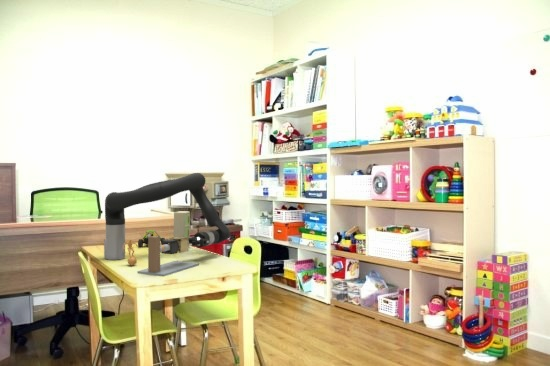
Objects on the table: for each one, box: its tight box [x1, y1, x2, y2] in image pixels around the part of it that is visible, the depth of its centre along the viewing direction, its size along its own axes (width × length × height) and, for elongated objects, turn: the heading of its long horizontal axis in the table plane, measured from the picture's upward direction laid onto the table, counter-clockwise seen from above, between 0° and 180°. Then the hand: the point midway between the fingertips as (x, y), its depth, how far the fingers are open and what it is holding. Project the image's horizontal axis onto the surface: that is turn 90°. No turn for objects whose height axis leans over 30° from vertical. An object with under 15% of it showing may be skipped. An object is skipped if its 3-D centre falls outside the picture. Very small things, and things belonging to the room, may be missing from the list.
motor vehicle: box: [137, 229, 166, 248], centre depth 273 cm, size 12×19×11 cm, turn 179°
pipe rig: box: [137, 235, 200, 277], centre depth 208 cm, size 14×26×16 cm, turn 156°
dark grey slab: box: [160, 238, 178, 255], centre depth 208 cm, size 6×4×6 cm
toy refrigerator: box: [173, 210, 191, 249], centre depth 264 cm, size 8×7×21 cm
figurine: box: [122, 239, 140, 267], centre depth 215 cm, size 8×6×12 cm
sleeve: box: [168, 236, 189, 254], centre depth 214 cm, size 6×6×6 cm
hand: (185, 243), depth 219 cm, fingers open, 8 cm apart
